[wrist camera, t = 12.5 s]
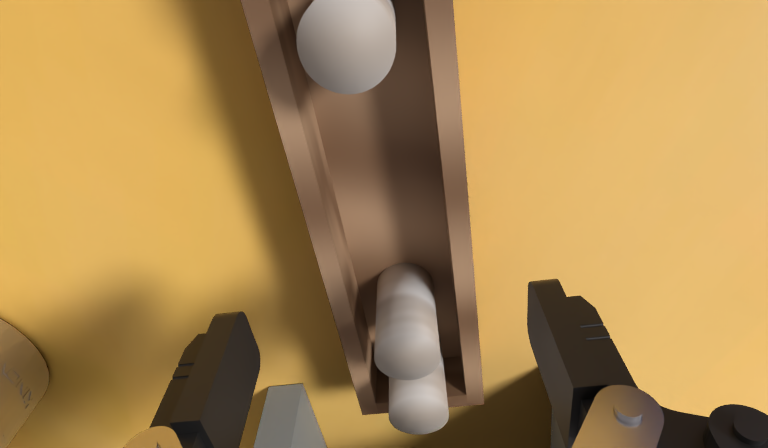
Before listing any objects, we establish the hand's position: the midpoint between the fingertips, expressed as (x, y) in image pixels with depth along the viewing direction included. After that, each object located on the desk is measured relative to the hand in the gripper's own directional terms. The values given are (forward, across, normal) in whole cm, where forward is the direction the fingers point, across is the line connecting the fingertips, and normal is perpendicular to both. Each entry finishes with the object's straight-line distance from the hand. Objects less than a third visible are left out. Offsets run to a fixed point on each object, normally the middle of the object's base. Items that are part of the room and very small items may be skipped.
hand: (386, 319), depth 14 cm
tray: (+8, 0, -1) cm, 8 cm away
